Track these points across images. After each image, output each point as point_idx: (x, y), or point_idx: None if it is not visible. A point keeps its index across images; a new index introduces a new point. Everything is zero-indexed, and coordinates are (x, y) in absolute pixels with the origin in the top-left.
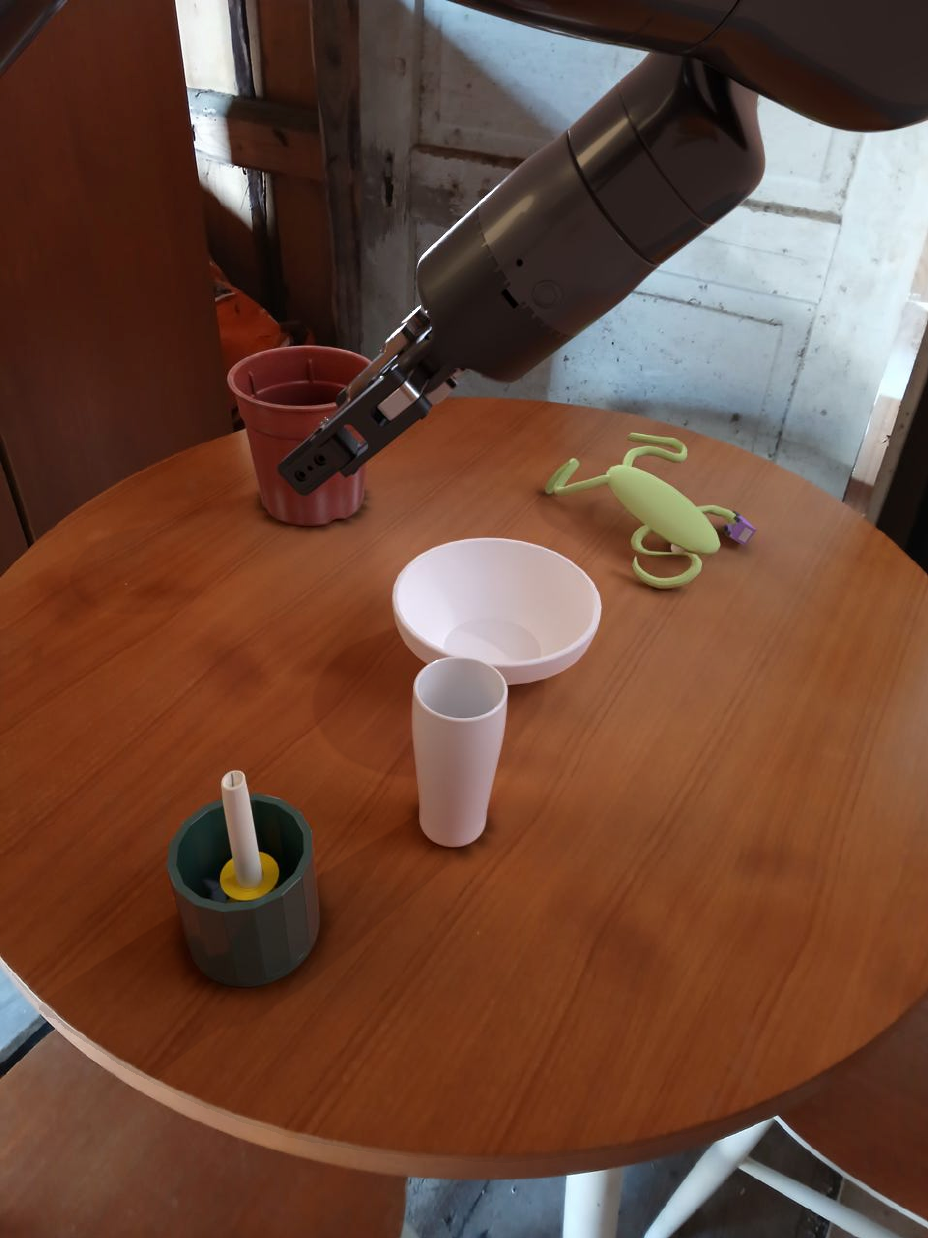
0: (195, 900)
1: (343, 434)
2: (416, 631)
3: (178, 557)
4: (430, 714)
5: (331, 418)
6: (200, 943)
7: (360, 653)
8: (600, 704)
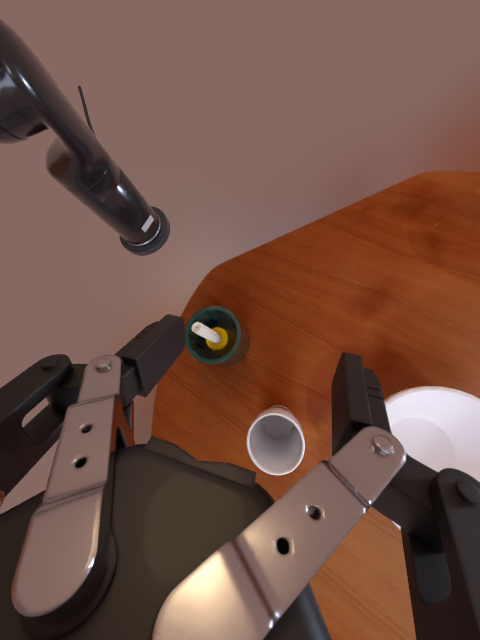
0: (189, 322)
1: (70, 395)
2: (413, 401)
3: (473, 242)
4: (252, 423)
5: (85, 376)
6: None
7: (399, 365)
8: (379, 520)
